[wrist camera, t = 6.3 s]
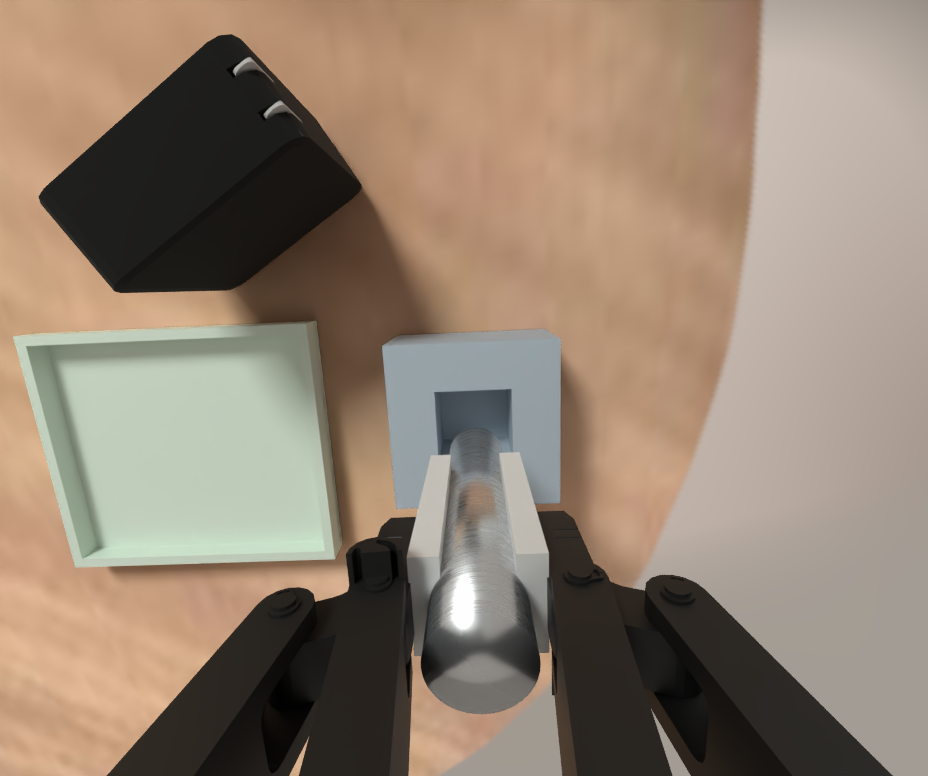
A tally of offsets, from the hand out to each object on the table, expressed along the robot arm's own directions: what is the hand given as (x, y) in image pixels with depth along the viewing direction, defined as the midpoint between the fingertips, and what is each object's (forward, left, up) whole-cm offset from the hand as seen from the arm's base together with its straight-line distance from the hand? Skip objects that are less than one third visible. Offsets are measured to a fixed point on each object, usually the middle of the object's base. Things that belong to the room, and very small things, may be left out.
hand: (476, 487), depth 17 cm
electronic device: (-12, -11, -12) cm, 20 cm away
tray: (+2, -18, -12) cm, 22 cm away
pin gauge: (0, 0, -4) cm, 4 cm away
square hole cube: (0, 0, -12) cm, 12 cm away
